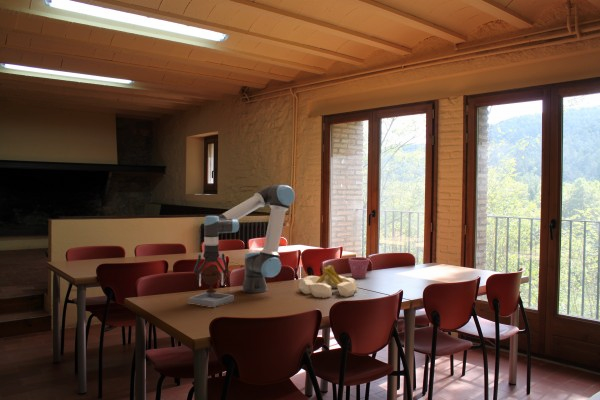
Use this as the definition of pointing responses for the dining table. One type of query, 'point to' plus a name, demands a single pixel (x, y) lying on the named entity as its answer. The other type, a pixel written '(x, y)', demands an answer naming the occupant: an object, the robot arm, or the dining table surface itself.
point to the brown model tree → (211, 277)
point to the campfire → (328, 284)
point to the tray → (211, 299)
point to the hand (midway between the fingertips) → (211, 285)
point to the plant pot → (358, 267)
